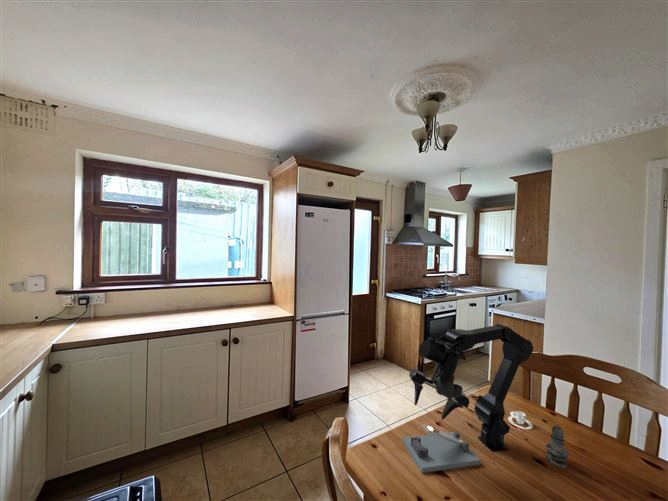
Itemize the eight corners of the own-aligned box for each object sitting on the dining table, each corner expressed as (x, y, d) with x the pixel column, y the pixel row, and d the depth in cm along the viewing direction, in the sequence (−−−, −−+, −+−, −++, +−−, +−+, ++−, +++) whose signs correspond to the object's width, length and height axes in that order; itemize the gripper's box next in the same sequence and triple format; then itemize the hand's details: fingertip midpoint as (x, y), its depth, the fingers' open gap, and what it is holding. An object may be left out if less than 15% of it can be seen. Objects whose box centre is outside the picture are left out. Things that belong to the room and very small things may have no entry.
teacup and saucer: (508, 413, 111) (509, 404, 111) (532, 421, 106) (532, 411, 106) (507, 424, 103) (507, 414, 103) (533, 433, 99) (533, 422, 99)
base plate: (454, 435, 96) (454, 424, 96) (480, 464, 83) (480, 451, 83) (402, 441, 92) (403, 430, 92) (421, 472, 79) (421, 459, 79)
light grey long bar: (459, 442, 91) (461, 436, 91) (465, 448, 88) (467, 442, 88) (422, 427, 88) (425, 421, 88) (427, 433, 85) (429, 427, 85)
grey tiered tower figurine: (573, 470, 82) (574, 431, 82) (552, 466, 83) (553, 428, 83) (561, 455, 88) (562, 419, 88) (541, 452, 89) (542, 417, 89)
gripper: (424, 360, 82) (404, 408, 81) (484, 389, 79) (465, 440, 77) (417, 352, 93) (400, 394, 92) (470, 377, 90) (453, 421, 88)
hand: (428, 411), depth 87 cm, fingers open, 9 cm apart
